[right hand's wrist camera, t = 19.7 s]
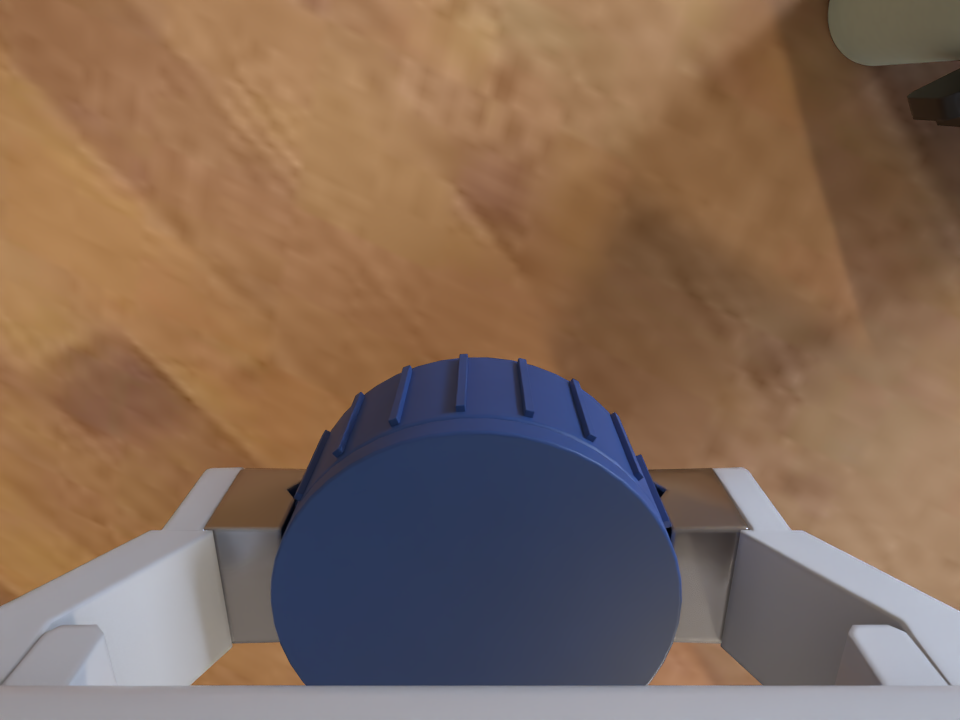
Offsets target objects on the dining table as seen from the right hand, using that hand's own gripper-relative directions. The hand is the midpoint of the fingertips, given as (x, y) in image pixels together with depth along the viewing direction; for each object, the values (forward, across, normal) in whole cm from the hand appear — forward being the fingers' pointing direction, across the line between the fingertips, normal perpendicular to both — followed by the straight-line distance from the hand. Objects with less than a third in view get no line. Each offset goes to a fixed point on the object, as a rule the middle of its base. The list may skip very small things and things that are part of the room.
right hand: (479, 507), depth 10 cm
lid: (-2, 0, 0) cm, 2 cm away
